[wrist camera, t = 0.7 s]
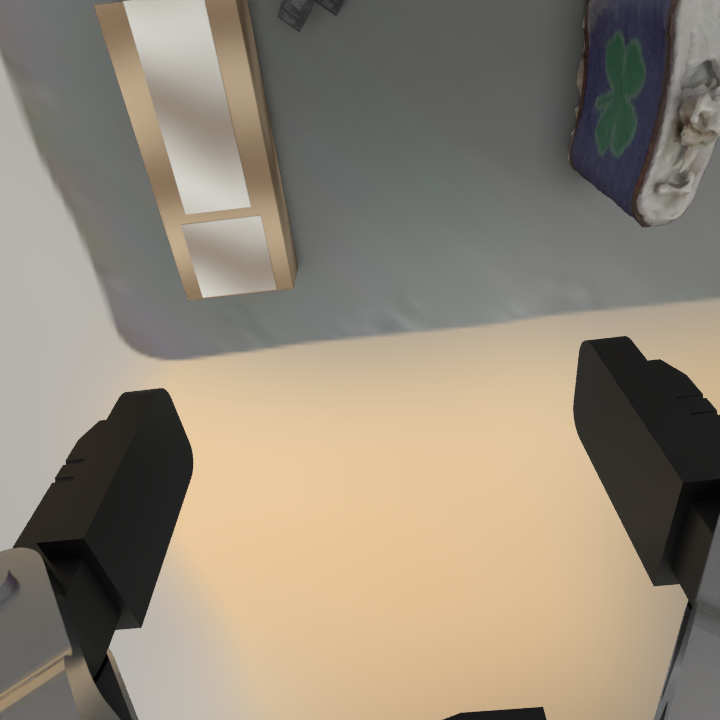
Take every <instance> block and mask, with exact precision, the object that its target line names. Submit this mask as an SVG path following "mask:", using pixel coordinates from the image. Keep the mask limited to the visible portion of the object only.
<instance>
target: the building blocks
mask: <svg viewBox="0 0 720 720" xmlns="http://www.w3.org/2000/svg"><path fill="white" fill-rule="evenodd" d="M314 1H315V0H284V1H283V2H282V4H281V7H280V11H279V15H278V17H279V18H280V19H282V20H283V21H284V22H286V23H287V24H289V25H290V26H291V27H293V28H294V29H296V30H297V31H298V32H300V30H301V28H302V27H303V25H304V23H305V21H306V19H307V17H308V15H309V13H310V12H311V9H312V7H313V4H314ZM316 1H317V2H318V3H320V4H321V5H322V6H324V7H325V8H326V9H328V10H329V11H330V12H332V13H333V14H334V15H337V14H338V12H339V10H340V8H341V6H342V4H343V2H344V0H316Z"/></svg>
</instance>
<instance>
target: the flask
mask: <svg viewBox="0 0 720 720" xmlns="http://www.w3.org/2000/svg"><path fill="white" fill-rule="evenodd" d="M584 15H585V16H584V18H583V24H582V28H583V29H584V28H585V40H584V46H583V48H584V50H583V52H582V58H581V59H580V61H579V69H578V71H577V72H576V73H577V76H578V78H577V82H576V83H577V85H578V87H577V88H579V93H580V96H581V97H580V102H579V106H577V107H576V108H574V110H575V114H576V119H577V120H576V126H575V128H574V130H573V132H571V135H572V136H571V143H570V146H569V153H568V161H569V163H570V165H571V166H572V168H573V169H574V170H575V171H576V175H577V174H580V175H581V176H582V177H584V178H585V179H586V180H588V181H589V182H591V183H592V184H593V185H594V186H595V187H596V188H597V190H599V191H601V192H602V193H603V194H604V195H606V196H607V197H609V198H611V199H612V200H613V201H614V202H615V203H616V204H617V205H618V206H619V207H621V208H622V209H623V211H624V212H626V213H627V214H628V215H629V216H632V217H634V219H635V220H636V221H637V222H638V223H639V224H640V225H641V226H642V227H651V226H659V225H665V224H668V223H671V222H672V221H674V220H676V219H678V218H680V217H681V216H682V215H683V214H684V212H685V211H686V210H687V209H688V207H689V206H690V204H691V202H692V200H693V198H694V196H695V193H696V190H697V188H698V185H699V183H700V180H701V178H702V176H703V175H704V173H705V171H706V168H707V166H708V164H709V161H710V159H711V156H712V154H713V151H714V148H715V145H716V143H717V140H718V137H719V136H720V0H588V3H587V6H586V11H585V14H584Z"/></svg>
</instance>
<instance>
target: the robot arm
mask: <svg viewBox="0 0 720 720" xmlns="http://www.w3.org/2000/svg"><path fill="white" fill-rule="evenodd" d="M573 412H574V421H575V426H576V430H577V433H578V436H579V438H580V440H581V442H582V444H583V446H584V448H585V450H586V452H587V454H588V456H589V458H590V460H591V462H592V464H593V466H594V468H595V470H596V472H597V474H598V476H599V478H600V480H601V482H602V484H603V486H604V488H605V490H606V492H607V494H608V496H609V498H610V500H611V502H612V504H613V506H614V508H615V510H616V512H617V514H618V516H619V518H620V519H621V522H622V524H623V526H624V528H625V530H626V532H627V534H628V536H629V538H630V540H631V542H632V544H633V545H634V548H635V549H636V552H637V554H638V556H639V557H640V559H641V561H642V563H643V566H644V568H645V570H646V571H647V574H648V575H649V577H650V579H651V581H652V583H653V585H654V586H662V585H674V584H680V585H681V587H682V589H683V591H684V593H685V594H686V596H687V598H688V603H687V606H686V609H685V612H684V616H683V619H682V622H681V626H680V630H679V633H678V636H677V640H676V644H675V647H674V651H673V654H672V658H671V661H670V665H669V668H668V672H667V676H666V679H665V682H664V686H663V690H662V693H661V696H660V700H659V703H658V707H657V710H656V714H655V717H654V720H720V415H718V414H717V410H716V409H715V408H714V407H713V405H712V404H711V403H710V402H709V401H708V400H707V398H703V394H702V393H701V392H700V390H699V389H698V388H697V387H696V386H695V385H694V383H693V382H692V381H691V380H690V379H689V377H688V376H687V375H686V374H684V373H682V372H681V371H679V370H677V369H676V368H673V367H672V366H670V365H669V364H667V363H665V362H664V361H662V360H660V359H659V360H650V361H647V359H646V358H645V357H644V356H643V354H642V353H641V352H640V350H639V349H638V348H637V347H636V345H635V344H634V343H633V342H632V340H630V338H628V337H626V336H622V337H614V338H604V339H595V340H587V341H584V342H582V344H581V346H580V350H579V358H578V367H577V377H576V387H575V395H574V405H573ZM192 471H193V454H192V449H191V445H190V443H189V440H188V438H187V435H186V433H185V430H184V428H183V426H182V423H181V421H180V418H179V416H178V414H177V411H176V409H175V406H174V404H173V402H172V399H171V397H170V395H169V393H168V392H167V391H166V390H165V389H163V388H161V389H160V388H159V389H150V390H143V391H133V392H125V393H123V394H122V395H121V396H120V397H119V399H118V401H117V403H116V404H115V406H114V408H113V409H112V411H111V413H110V415H109V416H108V418H107V420H101V421H99V422H98V423H97V424H95V425H94V426H93V427H92V428H91V429H90V430H89V431H88V432H87V433H86V434H84V435H83V436H82V437H81V438H80V439H79V440H78V441H77V443H76V445H75V446H74V448H73V450H72V451H71V453H70V455H69V456H68V458H67V459H66V465H63V466H62V468H61V469H60V471H59V473H58V474H57V476H56V477H55V483H52V484H51V486H50V487H49V489H48V491H47V492H46V494H45V495H44V497H43V499H42V501H41V502H40V504H39V505H38V507H37V509H36V511H35V512H34V514H33V515H32V517H31V519H30V520H29V522H28V523H27V525H26V527H25V528H24V530H23V532H22V533H21V535H20V536H19V538H18V540H17V541H16V543H15V545H14V546H13V548H12V549H8V550H4V551H1V552H0V720H138V717H137V715H136V712H135V710H134V707H133V705H132V702H131V699H130V697H129V694H128V692H127V689H126V686H125V684H124V681H123V679H122V676H121V674H120V671H119V669H118V666H117V663H116V661H115V658H114V656H113V654H112V652H111V651H110V649H109V648H108V647H109V645H110V642H111V639H112V636H113V634H114V631H115V630H119V629H131V628H141V627H142V624H143V621H144V618H145V615H146V612H147V609H148V606H149V603H150V600H151V597H152V594H153V591H154V588H155V585H156V582H157V579H158V576H159V573H160V570H161V567H162V564H163V561H164V558H165V555H166V552H167V549H168V546H169V543H170V540H171V537H172V534H173V531H174V528H175V525H176V522H177V519H178V516H179V513H180V510H181V507H182V504H183V501H184V498H185V494H186V492H187V489H188V485H189V483H190V480H191V476H192ZM444 720H546V717H545V713H544V709H543V707H536V708H522V709H508V710H494V711H480V712H467V713H459V714H457V715H454V716H451V717H449V718H446V719H444Z"/></svg>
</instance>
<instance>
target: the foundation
mask: <svg viewBox="0 0 720 720" xmlns="http://www.w3.org/2000/svg"><path fill="white" fill-rule="evenodd" d="M94 7H95V10H96V13H97V16H98V20H99V23H100V26H101V29H102V32H103V35H104V38H105V42H106V45H107V48H108V51H109V54H110V57H111V60H112V63H113V67H114V70H115V73H116V76H117V79H118V82H119V85H120V89H121V92H122V95H123V98H124V101H125V104H126V107H127V111H128V114H129V117H130V120H131V123H132V126H133V129H134V133H135V136H136V139H137V142H138V145H139V148H140V151H141V154H142V158H143V161H144V164H145V167H146V170H147V173H148V176H149V180H150V183H151V186H152V189H153V192H154V195H155V198H156V202H157V205H158V208H159V211H160V214H161V217H162V220H163V224H164V227H165V230H166V233H167V236H168V239H169V242H170V245H171V249H172V252H173V255H174V258H175V261H176V264H177V267H178V271H179V274H180V277H181V280H182V283H183V286H184V289H185V293H186V296H187V299H188V300H196V299H205V298H214V297H223V296H232V295H241V294H250V293H259V292H268V291H277V290H286V289H293V288H294V284H295V279H296V274H297V270H298V264H297V259H296V254H295V248H294V243H293V238H292V233H291V227H290V222H289V217H288V212H287V206H286V201H285V196H284V191H283V185H282V180H281V175H280V170H279V165H278V159H277V154H276V149H275V144H274V138H273V133H272V128H271V123H270V117H269V112H268V107H267V102H266V96H265V91H264V86H263V81H262V75H261V70H260V65H259V60H258V54H257V49H256V44H255V39H254V33H253V28H252V23H251V18H250V12H249V7H248V2H247V0H129V1H122V2H115V3H108V4H101V5H94Z"/></svg>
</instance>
